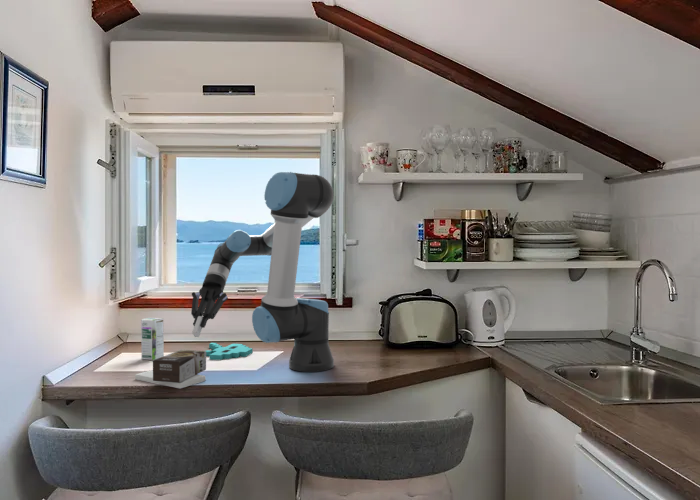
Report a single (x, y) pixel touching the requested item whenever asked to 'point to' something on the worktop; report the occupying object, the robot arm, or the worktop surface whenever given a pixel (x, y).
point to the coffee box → (179, 366)
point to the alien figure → (228, 351)
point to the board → (192, 380)
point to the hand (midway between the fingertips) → (195, 334)
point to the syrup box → (152, 338)
